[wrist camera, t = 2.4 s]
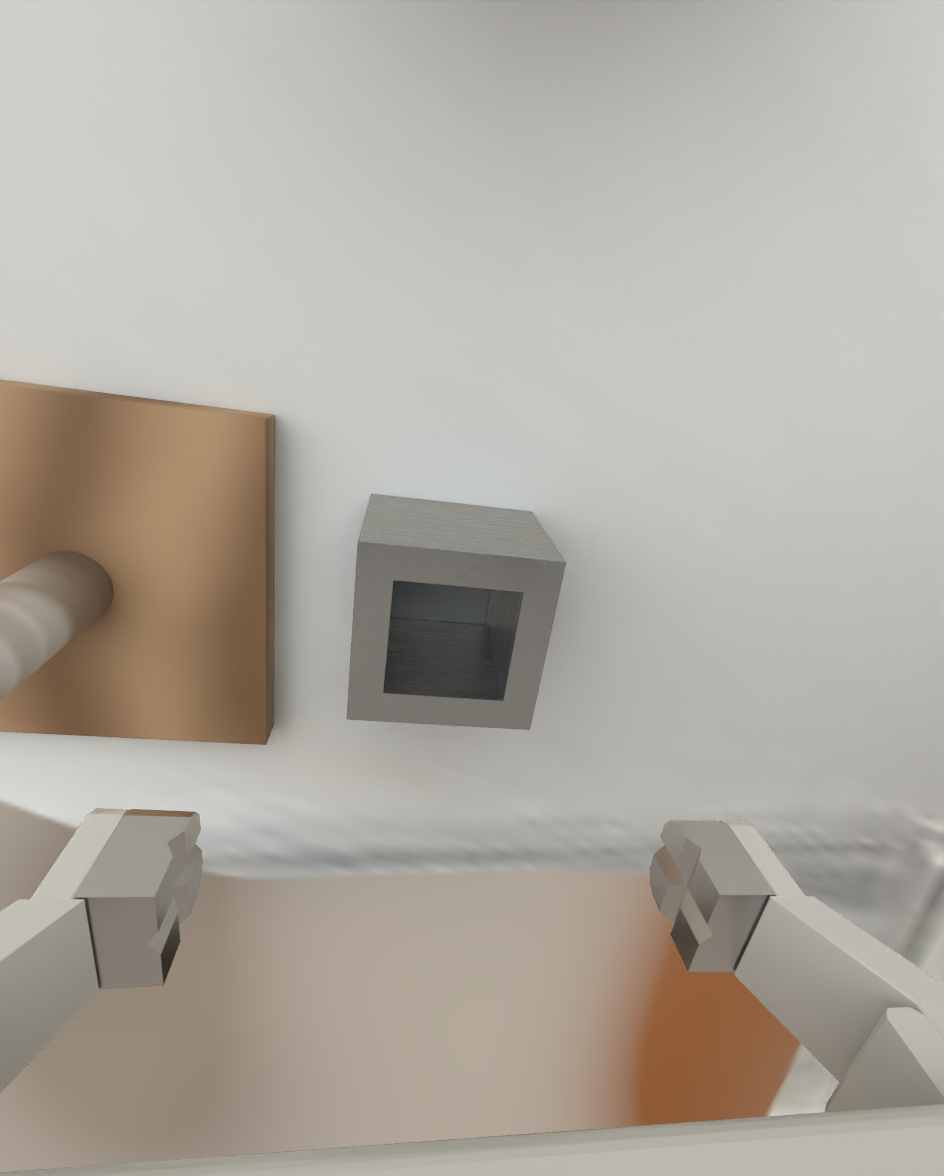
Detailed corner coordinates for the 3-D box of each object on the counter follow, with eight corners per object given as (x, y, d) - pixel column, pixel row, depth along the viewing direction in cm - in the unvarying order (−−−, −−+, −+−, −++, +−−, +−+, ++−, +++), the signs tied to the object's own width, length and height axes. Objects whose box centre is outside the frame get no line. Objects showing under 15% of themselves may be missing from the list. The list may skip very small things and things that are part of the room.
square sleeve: (531, 511, 20) (565, 561, 15) (505, 650, 22) (529, 729, 18) (371, 494, 19) (357, 541, 15) (361, 638, 21) (346, 719, 17)
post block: (274, 415, 18) (208, 447, 12) (273, 725, 23) (225, 853, 17) (-157, 359, 16) (-463, 368, 11) (-63, 706, 21) (-241, 842, 15)
